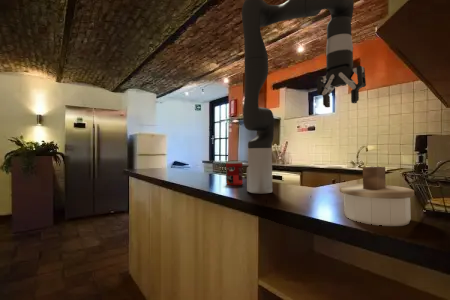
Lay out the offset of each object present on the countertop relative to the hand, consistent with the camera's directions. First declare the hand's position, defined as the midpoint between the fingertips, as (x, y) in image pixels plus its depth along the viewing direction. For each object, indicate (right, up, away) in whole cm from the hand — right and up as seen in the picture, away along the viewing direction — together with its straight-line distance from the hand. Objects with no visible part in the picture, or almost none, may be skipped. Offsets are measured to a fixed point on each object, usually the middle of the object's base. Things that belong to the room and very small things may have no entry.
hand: (340, 105), depth 77 cm
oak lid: (0, -24, -18) cm, 30 cm away
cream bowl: (0, -30, -18) cm, 35 cm away
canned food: (-31, -31, +44) cm, 62 cm away
